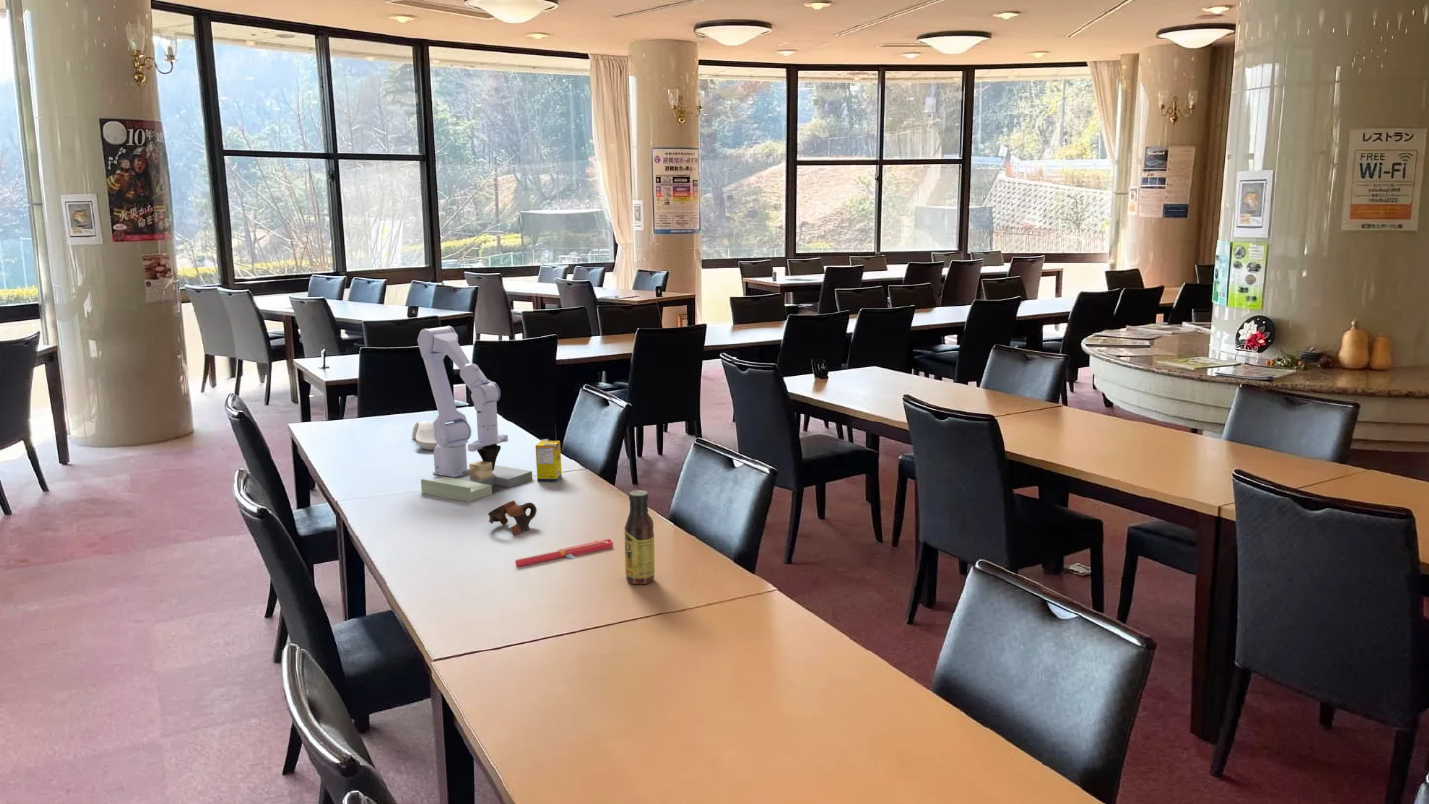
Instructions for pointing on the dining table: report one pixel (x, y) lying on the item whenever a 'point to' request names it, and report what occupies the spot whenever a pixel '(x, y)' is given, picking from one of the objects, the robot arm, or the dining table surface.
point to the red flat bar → (565, 552)
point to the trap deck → (475, 484)
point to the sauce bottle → (639, 540)
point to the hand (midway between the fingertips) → (489, 470)
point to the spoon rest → (424, 435)
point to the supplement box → (548, 460)
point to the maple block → (480, 469)
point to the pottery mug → (514, 515)
